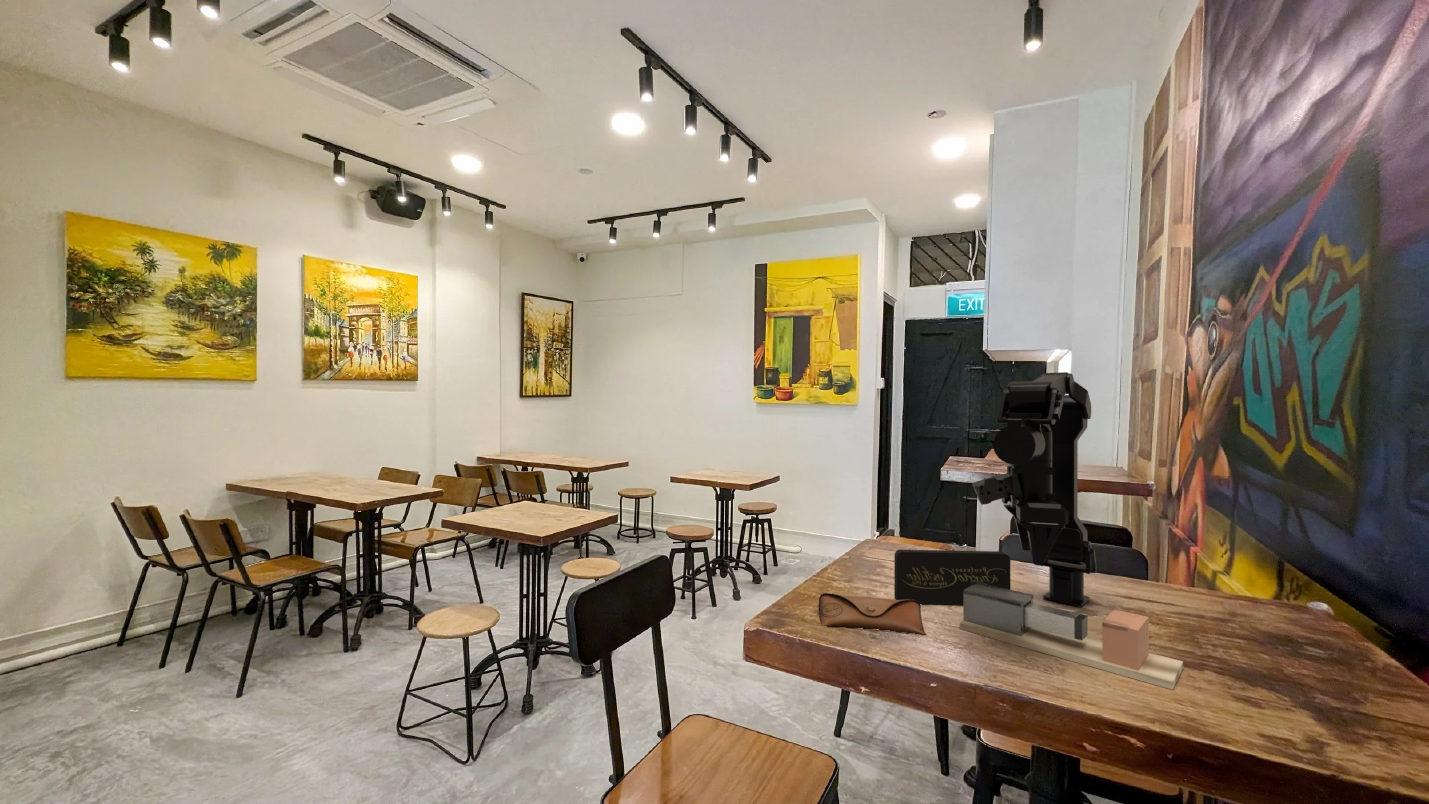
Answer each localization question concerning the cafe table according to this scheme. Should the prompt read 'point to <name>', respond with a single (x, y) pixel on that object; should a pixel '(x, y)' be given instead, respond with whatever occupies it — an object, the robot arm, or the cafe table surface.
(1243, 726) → the cafe table surface
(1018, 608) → the grey sleeve
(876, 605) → the sunglasses case
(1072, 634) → the silver rectangular bar
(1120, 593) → the cafe table surface
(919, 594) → the nameplate
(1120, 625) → the terracotta socket
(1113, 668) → the base board
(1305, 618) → the cafe table surface
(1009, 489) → the robot arm
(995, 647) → the cafe table surface
